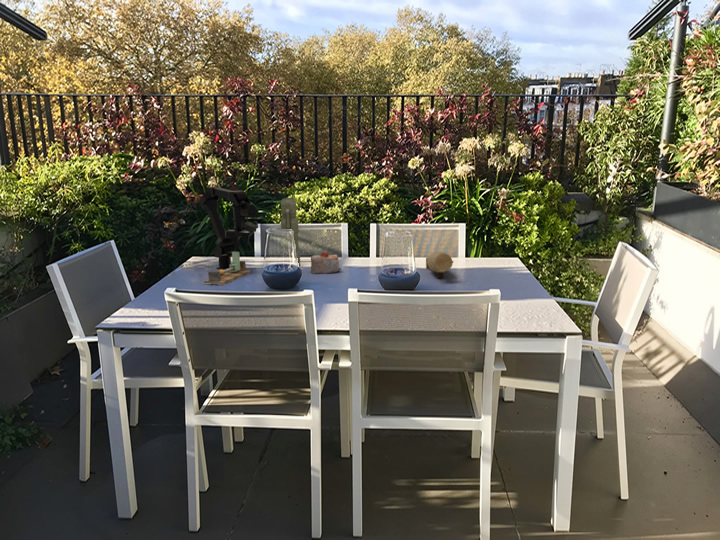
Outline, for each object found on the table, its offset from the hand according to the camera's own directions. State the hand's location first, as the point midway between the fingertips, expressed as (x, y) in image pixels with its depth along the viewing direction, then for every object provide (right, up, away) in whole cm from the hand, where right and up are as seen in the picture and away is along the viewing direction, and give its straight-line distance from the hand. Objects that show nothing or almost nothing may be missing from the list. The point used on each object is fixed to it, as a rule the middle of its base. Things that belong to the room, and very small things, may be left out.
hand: (242, 248), depth 298 cm
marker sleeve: (-2, -11, -4) cm, 12 cm away
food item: (+41, -12, -2) cm, 43 cm away
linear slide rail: (-5, -15, -10) cm, 18 cm away
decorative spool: (+95, -13, -14) cm, 97 cm away
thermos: (+23, -9, +12) cm, 28 cm away
